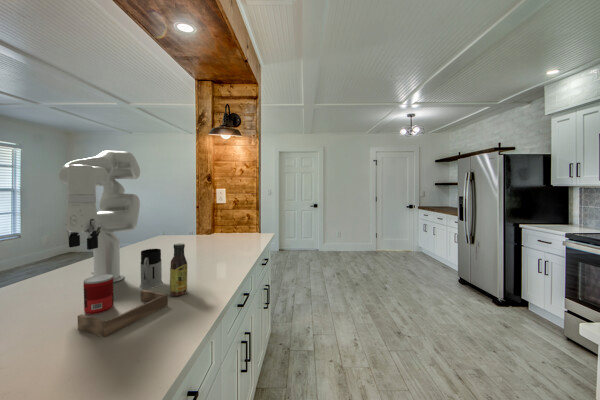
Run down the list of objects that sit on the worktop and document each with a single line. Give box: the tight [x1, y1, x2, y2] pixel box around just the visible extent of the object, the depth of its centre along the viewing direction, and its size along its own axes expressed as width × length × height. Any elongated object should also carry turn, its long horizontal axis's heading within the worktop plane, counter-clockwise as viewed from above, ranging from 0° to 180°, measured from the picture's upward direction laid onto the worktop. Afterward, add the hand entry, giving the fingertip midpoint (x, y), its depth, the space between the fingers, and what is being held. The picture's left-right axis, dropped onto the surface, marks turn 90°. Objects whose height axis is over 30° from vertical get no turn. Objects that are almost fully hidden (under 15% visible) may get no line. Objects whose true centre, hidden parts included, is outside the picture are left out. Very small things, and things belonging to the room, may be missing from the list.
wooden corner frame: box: [77, 289, 169, 338], centre depth 82 cm, size 12×21×4 cm, turn 160°
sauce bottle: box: [169, 242, 188, 297], centre depth 100 cm, size 6×6×20 cm
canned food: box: [83, 274, 115, 315], centre depth 87 cm, size 8×8×11 cm
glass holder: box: [139, 248, 164, 289], centre depth 107 cm, size 9×14×15 cm, turn 18°
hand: (83, 247), depth 90 cm, fingers open, 9 cm apart
